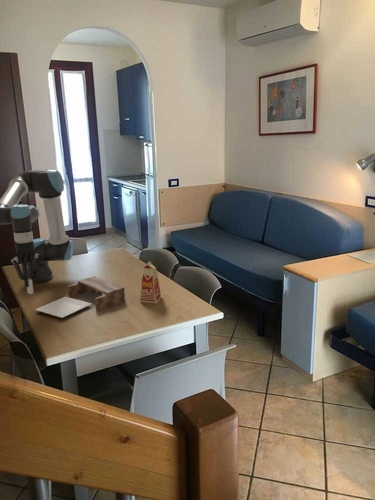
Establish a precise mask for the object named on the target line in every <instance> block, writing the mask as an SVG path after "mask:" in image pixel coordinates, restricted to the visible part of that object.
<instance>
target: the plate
mask: <svg viewBox="0 0 375 500" xmlns="http://www.w3.org/2000/svg"><path fill="white" fill-rule="evenodd" d="M92 304H93V303H92V302H91V303H90V302H87V301H83V300H79V299H76V298H73V297H71V298H70V297H69V296H64V297H61V298H59V299H56V300H55V301H51V302H49V303H47V304H45V305H43V306H39V307H37V308H36V309H34V311H36V312H40V313H43V314H46V315H50V316H53V317H57V318H60V319H64V318H67V317H69V316H71V315H73V314H75V313H77V312H79V311H81V310H83V309H86V308H88V307H90V306H92Z"/></svg>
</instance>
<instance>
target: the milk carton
mask: <svg viewBox="0 0 375 500" xmlns="http://www.w3.org/2000/svg"><path fill="white" fill-rule="evenodd" d="M158 275H159V274H158V270H157V267H155V266H154V265H153V264H152V261H149V262H147V263H146V265H145V266H144V267H143V268H142V274H141V288H140V289H141V290H140V297H139V300H138V301H139V303H147V304H149V303H151V304H158V303H159V301H160V300H161V298H162V293H161V286H160V282H159V281H160V280H159V276H158Z"/></svg>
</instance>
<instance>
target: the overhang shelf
mask: <svg viewBox="0 0 375 500" xmlns="http://www.w3.org/2000/svg"><path fill="white" fill-rule="evenodd" d="M93 291H96V293H97V294H98V295H100V294H103V295H101V296H97V297H95V298H94V302H95V310H96V311H98V312H99V311H101V310H104V309H106V308H110V307H112V306H116V305H118V304H121V303H124V302H125V301H126V296H125V295H126V294H125V287H124V286H121V285H119V284H116V283H114V282H111V281H108V280H105V279H103V278H100V277H97V276H95V275H93V276H89V277H87V278H83V279H79V280H77V283H73V284H70V285H69V284H68V285H67V294H68V296H67V297H69V298H73V297H76V296H80V295H83V294H86V293H89V292H93Z"/></svg>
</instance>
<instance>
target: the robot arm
mask: <svg viewBox="0 0 375 500" xmlns="http://www.w3.org/2000/svg"><path fill="white" fill-rule="evenodd" d="M64 189H65V186H64V180H63V176H62V174H61V172H60V171H59V170H57V169H35V170H32V169H31V170H25V171H22V172H20V173H18V174H17V175H15V176H14V177H13V178H12V179H11V180H10V181H9V182H8V188H7V189H6V191H4V194H3V195H2V196H1V198H0V225H12V230H13V238H14V239H13V240H14V242H15V243H14V247H15V253H16V254H15V257H13V258H11V259H10V262H11V263H12V264H13V266H14V269H15V271H16V273H17V276H18V279H19V280H22V281H23V282H24V287H25V288H26V291H27V294H29V295H33V294H34V286H35V283H43V282H47V281H50V280H52V279H53V277H54V275H53V272H52V269H51V268H50V265H49V262H56V261H57V262H58V261H59V262H61V261H62V262H64V261H70V260H71V259H72V257H73V253H74V241H73V240H71V239H70V237H69V235H67V234H66V228H65V223H64V217H63V212H62V207H61V200H60V197H61V196H62V194H63V192H64V191H65V190H64ZM32 193H33V194H35V193H37V194H38V196H39V198H40V199H42V202H43V203H42V204H43V208H44V213H45V219H46V222H47V228H48V229H47V230H48V233H49V237H48V238H47V240H46V238H44V237H41V238H40V237H39V238H35V239H34V232H33V226H32V224H33V223H35V222H37V220H39V217H40V211H39V209H38V208H37V207H36V206H35V205H28V204H19V203H20V201H21V199H22V197H25V196H26V195H27V194H32ZM19 261H20V264H21V267H20V264H19Z"/></svg>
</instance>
